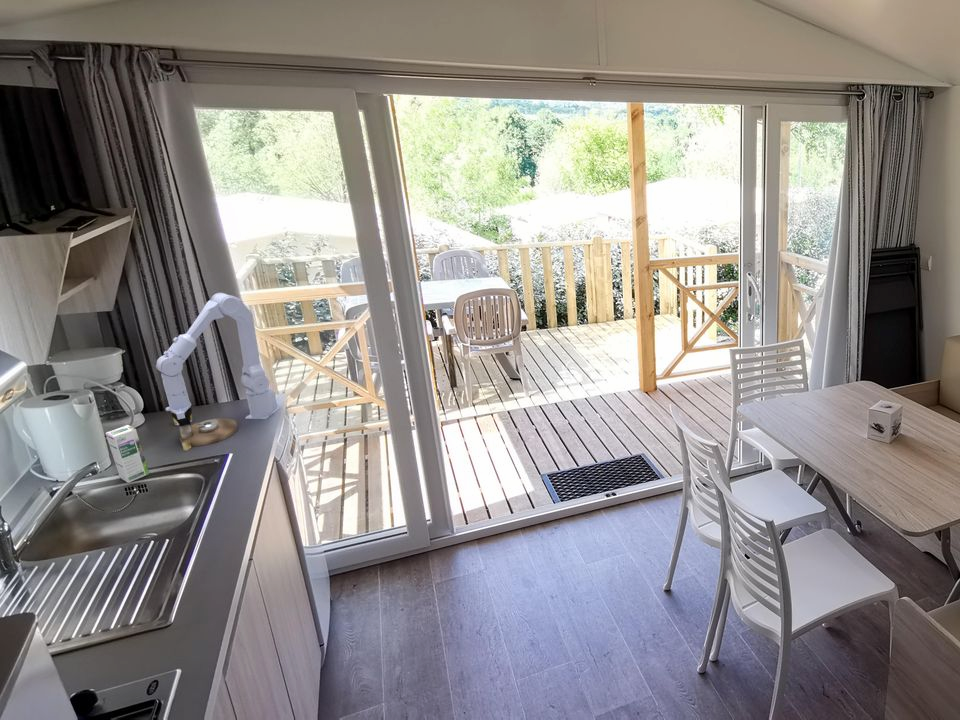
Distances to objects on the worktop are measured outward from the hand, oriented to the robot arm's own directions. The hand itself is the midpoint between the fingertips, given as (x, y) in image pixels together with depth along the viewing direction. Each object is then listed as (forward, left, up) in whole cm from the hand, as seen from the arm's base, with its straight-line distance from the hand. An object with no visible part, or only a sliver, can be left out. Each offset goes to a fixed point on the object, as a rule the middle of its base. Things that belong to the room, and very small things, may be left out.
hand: (187, 431), depth 173 cm
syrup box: (+23, 0, -3) cm, 23 cm away
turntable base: (-2, +5, -3) cm, 6 cm away
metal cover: (-4, +5, -1) cm, 6 cm away
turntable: (-3, +5, -2) cm, 7 cm away
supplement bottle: (-11, -11, -3) cm, 16 cm away
